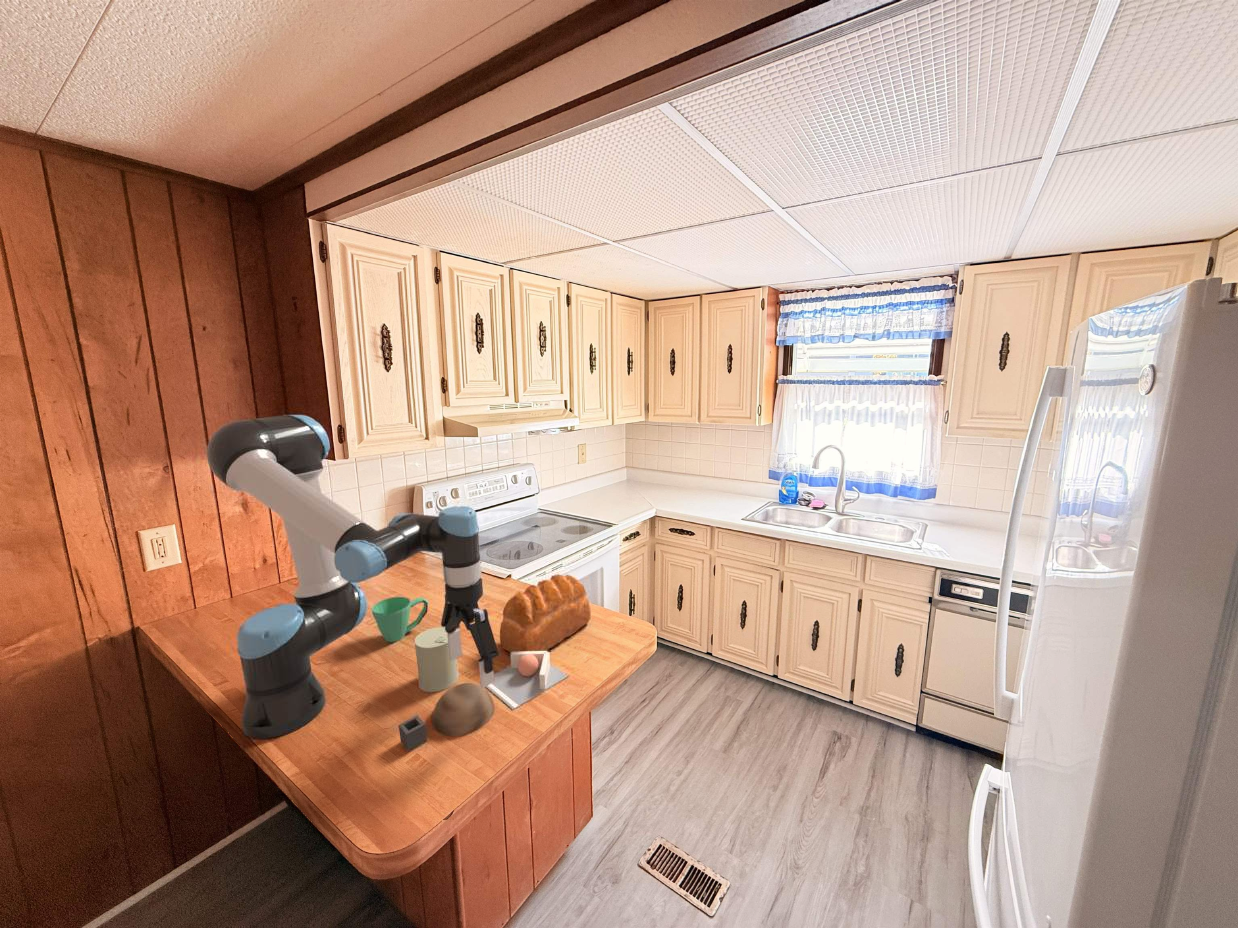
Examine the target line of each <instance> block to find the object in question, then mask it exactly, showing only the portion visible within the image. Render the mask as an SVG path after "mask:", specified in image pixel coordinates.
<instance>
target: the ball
mask: <svg viewBox="0 0 1238 928" xmlns="http://www.w3.org/2000/svg"><path fill="white" fill-rule="evenodd" d="M537 669H538V660H537V658H536V657H535V656H534V655H531V654H526V655H524V656H522V657H521V658H520V660H519V662H518V670H519V672H520V673H521V674H522V675H524V676H531V675H533V674H534V673H535V672H536V671H537Z"/></svg>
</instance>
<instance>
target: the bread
mask: <svg viewBox="0 0 1238 928" xmlns="http://www.w3.org/2000/svg"><path fill="white" fill-rule="evenodd" d="M591 613H592V612H591V607H590V601H589V598H588V597H587V592H586V589H585V586H584V584H583V583H581V582H580V581H579V579H577V578H576V577H574V576H573V575H570V574H566V575H562V574H559V573H557V574H554V575H551V577H550V578H549V579H543V580H541V581H538V582H537V584H536V585H535V584H530V585H529V586H528V587H526V589H525V590H524V591H523V592H520V591H518V592H517V593H516V594H515V595H513V596H512V597H510V598H509V599H508V600H507V602H506V604H505V606H504V608H503V610H502V617H503V618H502V621H501V622H500V628H499V641H500V643H499V644H500V647H501V648H502V649H504V650H506V651H508V652H509V653H511V652H519V651H547V652H548V650H549V649H551V648H553V647H555V646H556V645H557V644H559V643H561V642H563V640H564V639H566V638H567V637H570V636H571V635H573V634H575V633H576V632H578V631H579V630H580V629H581V628H582V627H584V626H585V625H586V624H587V623H589V622H590V620H591V615H592V614H591Z"/></svg>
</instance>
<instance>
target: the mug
mask: <svg viewBox="0 0 1238 928" xmlns="http://www.w3.org/2000/svg"><path fill="white" fill-rule="evenodd" d="M422 603H423V607H422V609H421V611H420V612H419V614H418V616H417V617H416V619H415V620H414V621H412V622H411V623H410V624H409V621H410V612H411V608H412V607H415V606H416V605H418V604H422ZM428 606H429V600H428V599H426V598H424V597H422V596H420V597H418V598H414V599H413V600H410V598H408V597H404V596H393V597H387V598H385V599H381V600H379V601H378V602H376V603H375V604H374V605H372V606H371V607H372V608H371V612H372V613H371V614H372V616H373V618H374V620H375V622H376V625H377V628H378V630H379V632H380V634H381V635H382V637H383V639H385V641H386V642H387V643H396V642H399V641H401V640H402V639H403V638H404V637H405V635H406V634H407V633H409V632H410V631H411V630H413V629H414V628H416V627H417V626H418V625H419V624H420V623H421V621H422V620H423V618H425V616H426V614H427V613H428V608H429V607H428Z"/></svg>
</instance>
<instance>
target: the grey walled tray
mask: <svg viewBox="0 0 1238 928" xmlns="http://www.w3.org/2000/svg"><path fill="white" fill-rule="evenodd" d="M526 654H531V655H534V656H535V657H536V658H537V660H538V669H537V671H536V672H535V673H534V674H533V675H531V676H524V675H522V674H521V673H520V672H519V670H518V662H519V660H520V658H521V657H522V656H524V655H526ZM550 659H551V657H550V651H548V650H547V651H519V652H510V665H509V666H507V667H506V668H503V669H501V670H499V671H497V672H496V673H494V682H493V683H491V684H489V685H488V686H486V687H485V689H486V690H488V691H490V692H491V693H492V694H493V695H494V696H496V697H497V698H498V699H499V700H500V701H501V702H503V703H504V704H505V705H506V706H508V707H509V708H510V709H511V710H513V711H514V710H516V709H517V708H519V707H520V706H522V705H524V704H526V703H527V702H529V701H531V700H532V699H535V697H537V696H538V695H540V694H542V693H544V692H546V691H547V690H549V689H550V688H552V687H554V686H555V685H557V684H559V683H560V682H562V681H564V680H565V679H567V678H569V675H568V674H567V673H565V672H564V671H562V670H561V669H559V668H557V667H556V666H555V665H553V664H552V663H551V660H550ZM479 683H480V684H481V681H479Z"/></svg>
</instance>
